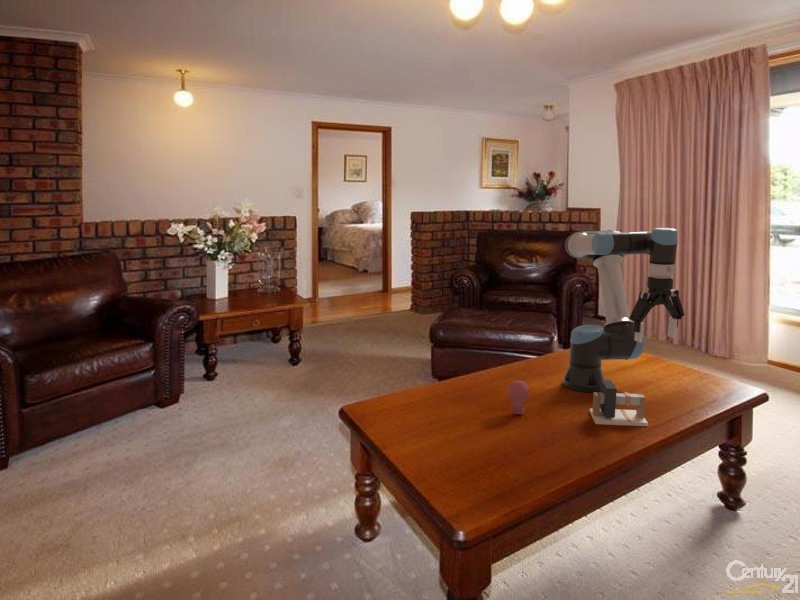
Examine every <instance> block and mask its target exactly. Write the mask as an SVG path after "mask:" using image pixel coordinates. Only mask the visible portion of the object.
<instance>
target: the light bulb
mask: <svg viewBox="0 0 800 600" xmlns="http://www.w3.org/2000/svg"><path fill="white" fill-rule="evenodd" d="M507 394H508V397H509V399H510V400H511V406H512V413H513V414H515V415H524V414H525V407H524V406H525V402H526V401H527V400H528V397H529V396H530V395H529V394H530V388H529V385H528V384H527V383H526V382H525V381H523V380H520V379H518V380H517V379H515V380H513V381H511V382H510V383H509V385H508V387H507Z"/></svg>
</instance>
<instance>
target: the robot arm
mask: <svg viewBox="0 0 800 600" xmlns="http://www.w3.org/2000/svg"><path fill="white" fill-rule="evenodd" d="M678 234H679V233H678V230H677V229H676V228H672V227H654V228H653V229H652V230H651V231H650V230H641V231H640V230H639V231H629V232H626V231H625V232H620V231H618V230H611V229H609V230H581V231H577V232H574V233H572V234H570V235H569V236H568V237H567V238H566V240H565V242H564V249H565V251H566V253H567V254H568V255H569V256H571V257H572V258H575V259H579V260H592V261H591V262H592V265H593V266H594V267H595V268H597V272H598V273H597V274H598V279H599V284H600V291H601V297H602V303H603V310H604V315H605V321H606V322H605V323H604V325H602V326H601V325H599V324H594V325H593V324H584V325H582V324H581V325H579V326H576V327H574V328H573V329H572V330H571V332H570V333H571V334H570V339H569V343H570V345H569V346H570V347H569V365H568V368H567V369H566V372H565V375H564V377H563V385H564V386H565V387H566V388H568V389H571V390H573V391H577V392H583V393H594V392H601V380H605V377H604V373H603V370H602V361H605V360H606V361H608V360H611V361H613V360H614V361H615V360H616V361H617V360H621V361H622V360H625V361H627V360H636V359H638V358H640V357H641V356H642V354H643V351H644V349H645V334H644V325H645V324H644V322H643V321H644V319H645V318H646V317H647V315H648V314H649V313H650V312H651V310H652V309H653V308H655V306H659V305H663V306H664V307H665V310H667V312H668V313H669V315H670V316H671V317H669V318H668V327H667V337H668V338H672V339H677V337H676V336H677V329H678V327H679V321H680V320H681V319H682V318H683V317H684V316H685V311H684V309H683V305H682V302H681V299H680V290H678V289H675V288H674V278H673V277H674V275H675V266H676V257H677V248H678V243H679V240H678ZM626 255H649V259H648V261H649V262H648V271H647V274H648V277H647V282H646V283H647V285H646V286H647V288H648V290H647V292H644V291H640V292H639V295H638V298H637V301H636V303H635V304H634V307H633V309H632V311H631V313H630V311H629V306H628V300H627V295H626V290H625V285H624V278H623V273H622V268H621V263H623V261H624V258H625V257H626Z"/></svg>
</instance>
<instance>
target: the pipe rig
mask: <svg viewBox="0 0 800 600" xmlns="http://www.w3.org/2000/svg"><path fill="white" fill-rule="evenodd" d="M592 396H593V397H592V407H591V408H589V414H590V416H591V418H592V420H593V421H594V424H595V425H606V426H608V425H609V426H610V425H611V426H631V427H632V426H633V427H648V426H649V422H648V421H647V420H646V418H645V411H646V400H647V399H646V398H647V397H646V396H645V395H644V394H643V393H629V392H626V391H625V392H622V393H619V392H616V405H623V406H626V407H631V406H636V409H617V408H615V418H607V417H605V416H604V415H603V413H602V411H601V409H600V404H604V402H605V394H604V393H601V392H600V391H597V392H593V395H592Z"/></svg>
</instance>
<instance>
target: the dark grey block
mask: <svg viewBox="0 0 800 600" xmlns="http://www.w3.org/2000/svg"><path fill="white" fill-rule="evenodd" d="M617 390H618V388H617V387H616V385H615V384H614V382H612V380H611V379H604V380H601V391H600V393H604V394H605V402H604V404H600V409H601V411H602V413H603V415H604V416H605V417H607V418H615V409H616V407H617V406H616V405H617V404H616V393H618V392H617Z"/></svg>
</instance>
